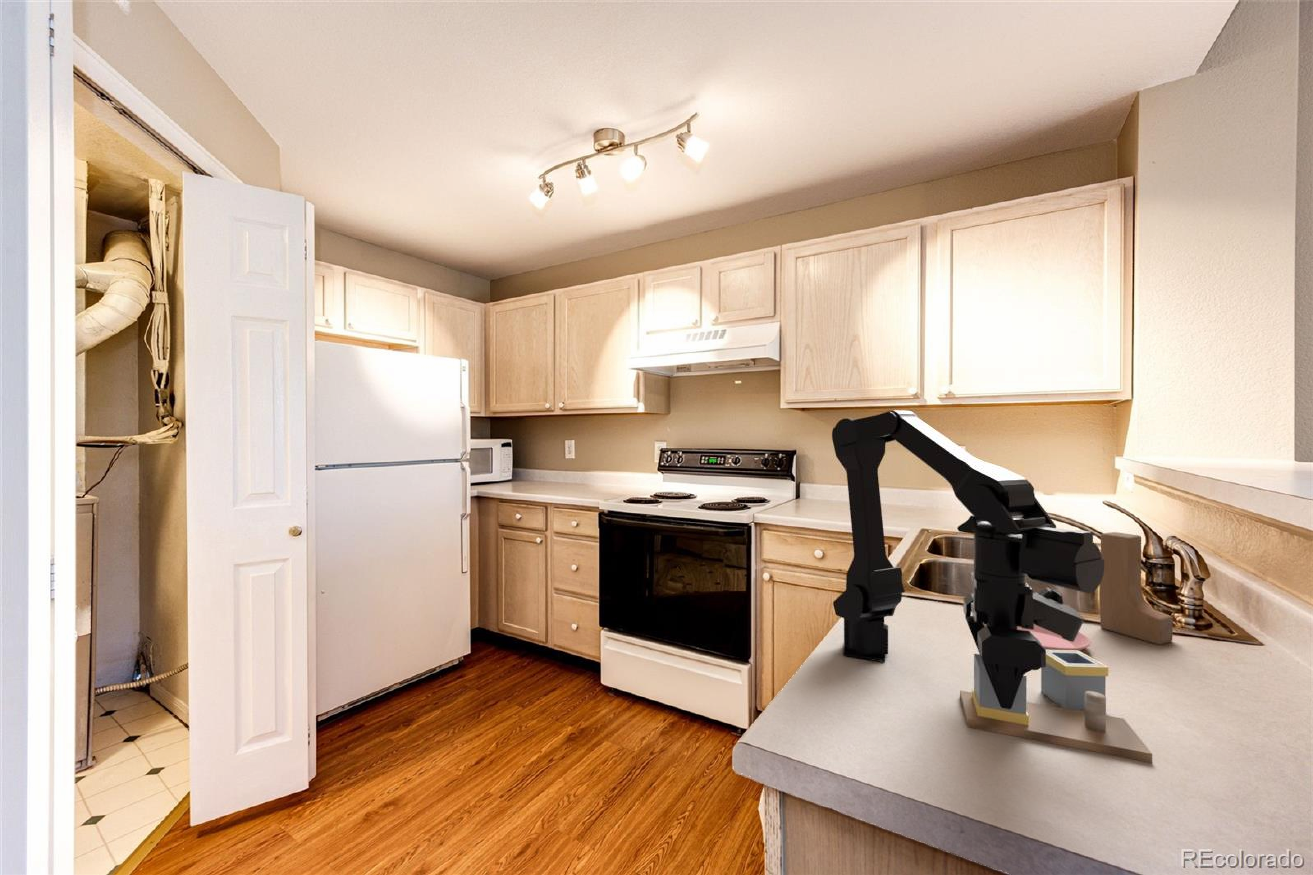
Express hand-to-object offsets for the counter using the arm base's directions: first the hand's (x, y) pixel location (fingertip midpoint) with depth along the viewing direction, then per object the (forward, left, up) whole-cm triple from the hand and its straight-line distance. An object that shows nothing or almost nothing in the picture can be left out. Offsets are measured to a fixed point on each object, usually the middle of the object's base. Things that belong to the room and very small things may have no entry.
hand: (998, 691), depth 69 cm
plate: (+11, +32, -4) cm, 34 cm away
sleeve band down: (0, 0, -2) cm, 2 cm away
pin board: (+5, 0, -4) cm, 6 cm away
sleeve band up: (+10, +9, -4) cm, 14 cm away
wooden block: (+28, +43, -4) cm, 51 cm away
